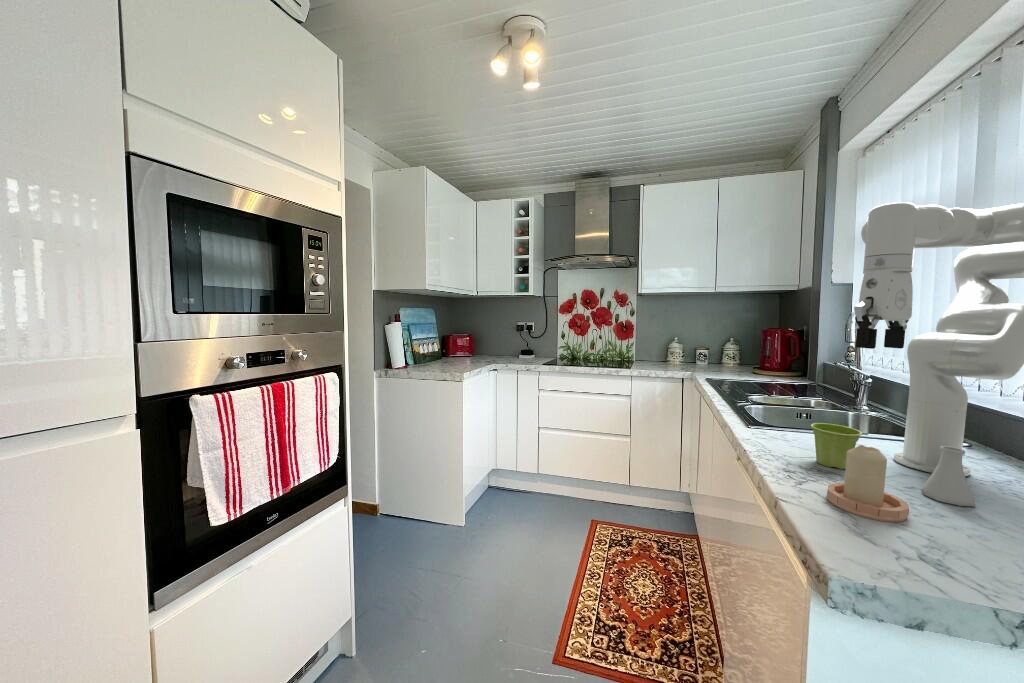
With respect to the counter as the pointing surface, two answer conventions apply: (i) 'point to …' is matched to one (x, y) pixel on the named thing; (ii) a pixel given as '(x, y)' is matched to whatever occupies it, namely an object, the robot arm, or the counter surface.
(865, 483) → the candle
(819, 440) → the plant pot
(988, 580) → the counter surface
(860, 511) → the candle dish
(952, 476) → the flask
